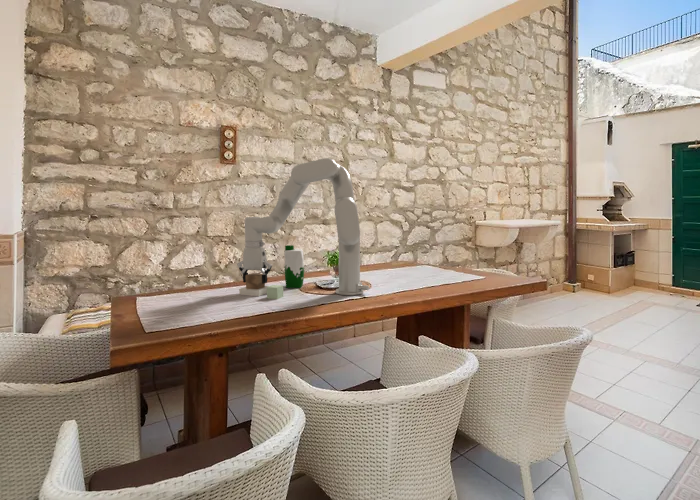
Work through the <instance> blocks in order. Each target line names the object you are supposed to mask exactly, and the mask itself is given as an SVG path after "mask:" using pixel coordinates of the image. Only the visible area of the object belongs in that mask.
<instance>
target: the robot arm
mask: <svg viewBox="0 0 700 500" xmlns="http://www.w3.org/2000/svg"><path fill="white" fill-rule="evenodd" d="M323 180H327V181H330V182H331V184H332V189H333V194H334V202H335V204H334V216H335V225H336V230H337V231H336V232H337V237H338V288H336V289H335V294H337V295H341V296H358V295H362V294H364V291H369V290H370V286H369V285H366V284H365V285H364V284H363V282H361V228H360V221H359V212H358V207H357V204H356V201H355V194H354V187H353V182H352V177H351V175H350V173H349V172H348V170H347V169H346V168H345V167H344V166H342V165H341V164H339V163H337V162H336V161H335V159H332V158H329V157H324V158H320V159H315V160H312V161H307V162H303V163H300V164H297V165H294V167H292V169H291V172H290V177H289V179H287V181H286V183H285V184H284V185H283V187H282V189H281V191H280V192H279V195H278V199H277V202H276V204H275V206H274V208H273V209H272V211H271V212H270V214H269V216H264V217H260V216H247V217H245V219H244V246H245V247H244V248H243V253H242V261H239V262H238V263H237V267H238V269H239V271H240V272H241V273H240V274H242V283H244V284H246V275H248V274H249V272H248V271H259V272H260V273H261V274H263V275H262V284H265V285H266V284H267V283H268V275H269V273H270V271H271V269H272V267H273V264H272V263H270V262H268V261H267V253H266V249H265V247H264V246H265V245H266V243H265V242H264V241H263V234H267V235H269V234H270V235H271V234H274V233H277V232H278V231H279V230H280V229H281V228H282V227H283V226H284V224H285V222H286V220H288V218H289V217H290V215H291V213H292V211H293V210H294V209H295V207H296V205H297V203H298V202H299V201H300V199H301V197H302V195H304V193H305V191H306V190H307V189H308V186H309V185H310V183H316V182H318V181H323Z"/></svg>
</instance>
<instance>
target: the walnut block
mask: <svg viewBox="0 0 700 500" xmlns="http://www.w3.org/2000/svg"><path fill="white" fill-rule="evenodd" d="M262 275H263V274H262V273H261V272H260V273H255V272H252V273H248V275H246V282H245V287H246V289H260V288H263V287H265V286H266V283H265V284H262Z"/></svg>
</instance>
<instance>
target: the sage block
mask: <svg viewBox="0 0 700 500" xmlns="http://www.w3.org/2000/svg"><path fill="white" fill-rule="evenodd" d="M267 286H268V287H267V293H266V299H271V300H279V299H282V298H284V285H279V284H271V285H267Z"/></svg>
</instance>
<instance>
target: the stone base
mask: <svg viewBox="0 0 700 500" xmlns="http://www.w3.org/2000/svg"><path fill="white" fill-rule="evenodd" d="M268 286H269V285H265V287H263V288H260V289H246V286H245V287H241V288H239V289H238V290H239V292H238V293H239V295H240V296H241V295H242V296H252V297H260V296H263V295H265V294H266V295H267V287H268Z"/></svg>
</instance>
